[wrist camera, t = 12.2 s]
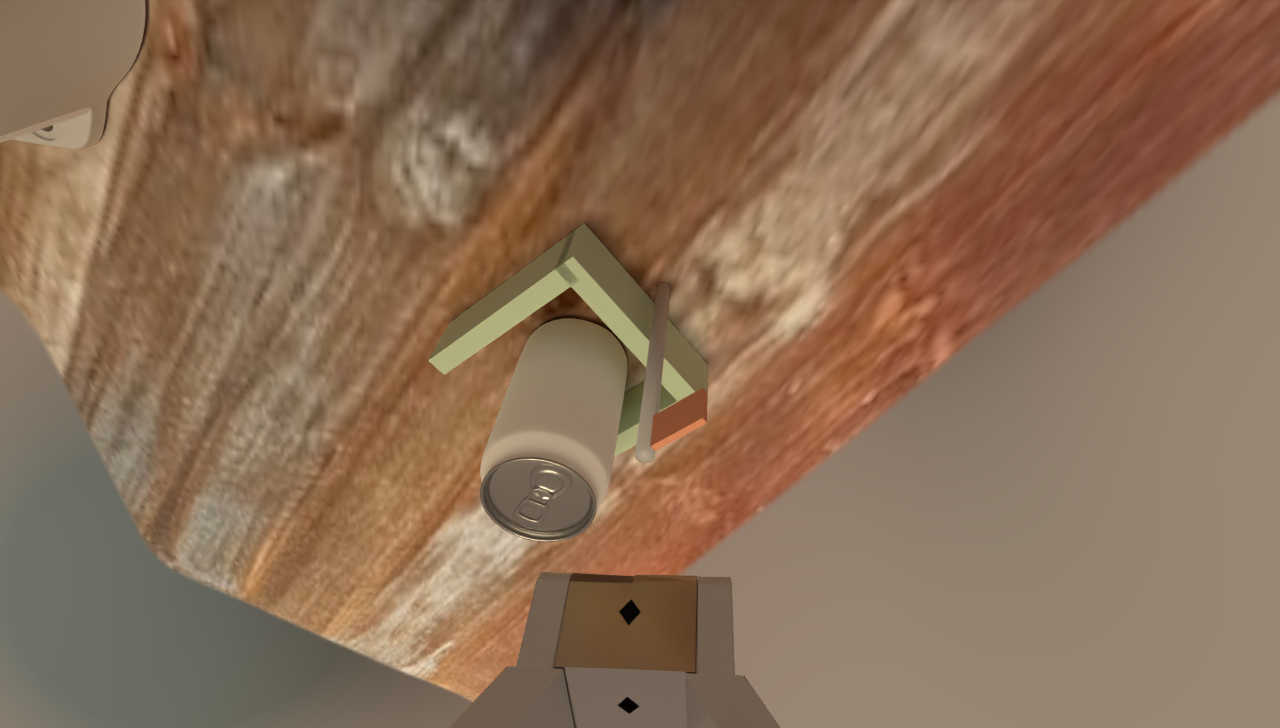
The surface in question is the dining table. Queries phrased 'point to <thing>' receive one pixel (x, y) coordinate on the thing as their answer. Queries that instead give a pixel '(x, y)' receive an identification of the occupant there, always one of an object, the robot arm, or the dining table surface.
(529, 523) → the can
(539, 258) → the olive frame
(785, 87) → the dining table surface
